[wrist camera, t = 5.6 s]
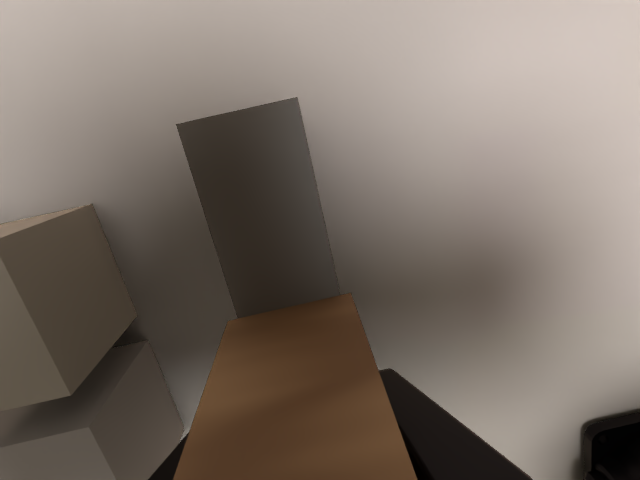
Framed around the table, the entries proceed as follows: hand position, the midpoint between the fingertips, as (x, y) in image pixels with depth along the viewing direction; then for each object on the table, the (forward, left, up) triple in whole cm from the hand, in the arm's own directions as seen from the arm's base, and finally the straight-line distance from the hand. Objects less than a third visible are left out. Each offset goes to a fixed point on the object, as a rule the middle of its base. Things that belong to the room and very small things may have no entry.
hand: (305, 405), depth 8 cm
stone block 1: (+8, -3, -6) cm, 10 cm away
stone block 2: (+8, +2, -6) cm, 10 cm away
